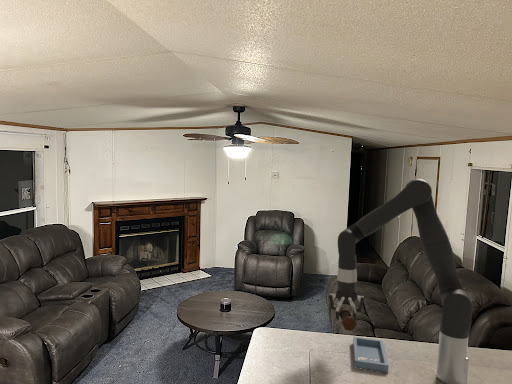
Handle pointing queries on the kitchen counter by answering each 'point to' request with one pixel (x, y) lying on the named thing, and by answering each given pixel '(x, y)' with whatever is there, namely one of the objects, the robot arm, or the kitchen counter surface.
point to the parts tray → (370, 354)
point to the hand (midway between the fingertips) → (345, 320)
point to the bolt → (347, 319)
